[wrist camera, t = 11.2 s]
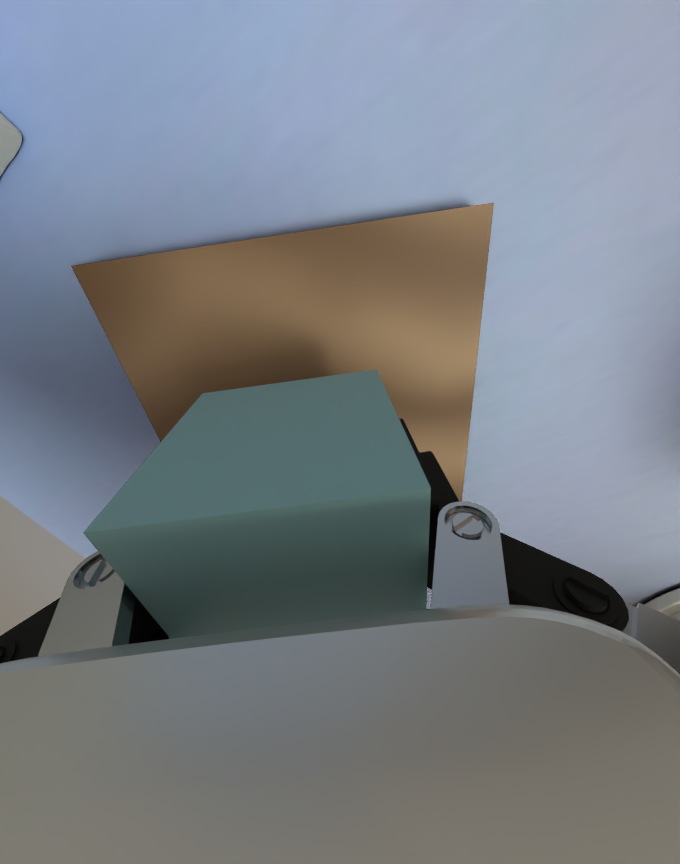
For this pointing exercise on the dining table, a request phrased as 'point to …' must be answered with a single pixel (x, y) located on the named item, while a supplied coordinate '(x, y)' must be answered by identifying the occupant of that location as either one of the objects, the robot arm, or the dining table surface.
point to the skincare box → (8, 142)
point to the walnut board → (310, 318)
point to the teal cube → (274, 511)
